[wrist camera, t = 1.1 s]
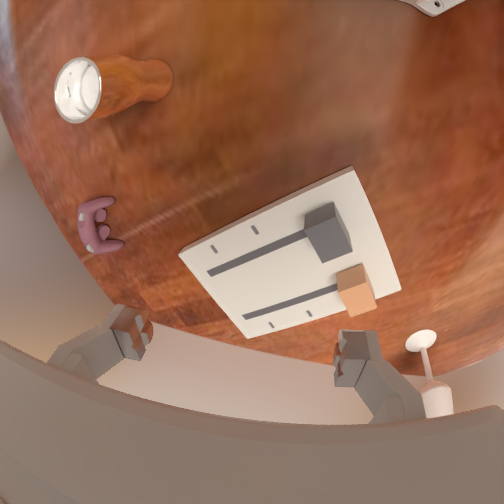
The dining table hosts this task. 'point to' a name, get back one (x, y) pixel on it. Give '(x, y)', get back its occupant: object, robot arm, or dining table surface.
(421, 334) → the champagne flute
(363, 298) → the block
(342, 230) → the block
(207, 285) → the fader panel
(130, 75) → the beer glass
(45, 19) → the dining table surface
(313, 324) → the dining table surface
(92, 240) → the video game controller
